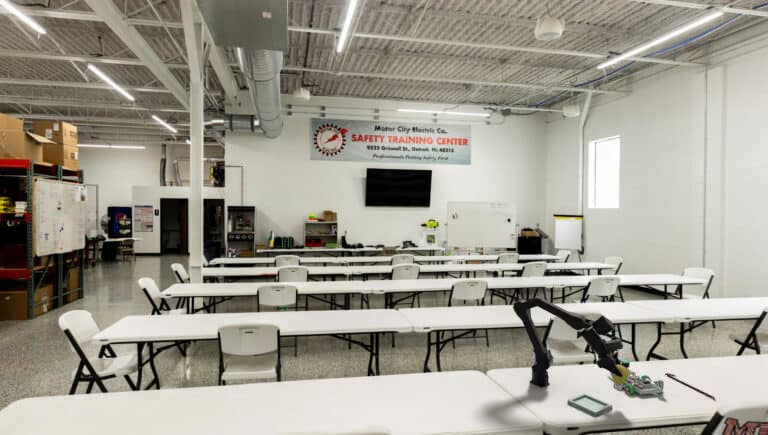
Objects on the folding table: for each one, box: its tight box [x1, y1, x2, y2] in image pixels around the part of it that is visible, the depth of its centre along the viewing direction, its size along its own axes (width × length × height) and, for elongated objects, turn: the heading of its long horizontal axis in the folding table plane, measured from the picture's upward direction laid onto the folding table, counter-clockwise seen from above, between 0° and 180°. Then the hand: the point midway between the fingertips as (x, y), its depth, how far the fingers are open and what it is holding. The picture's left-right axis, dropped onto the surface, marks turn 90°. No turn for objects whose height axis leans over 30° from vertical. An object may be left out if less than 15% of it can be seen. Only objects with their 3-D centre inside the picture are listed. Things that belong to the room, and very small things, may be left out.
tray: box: [567, 392, 613, 417], centre depth 167 cm, size 12×12×2 cm
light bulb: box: [609, 365, 629, 391], centre depth 169 cm, size 7×7×10 cm
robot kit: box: [613, 360, 665, 396], centre depth 190 cm, size 19×25×9 cm
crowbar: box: [664, 372, 716, 402], centre depth 189 cm, size 28×1×5 cm
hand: (622, 374), depth 168 cm, fingers closed on light bulb, 7 cm apart
